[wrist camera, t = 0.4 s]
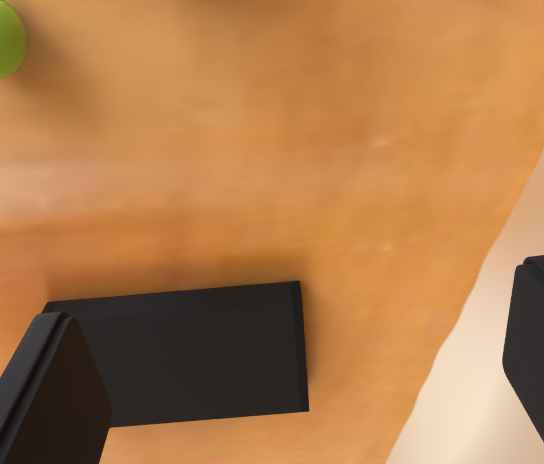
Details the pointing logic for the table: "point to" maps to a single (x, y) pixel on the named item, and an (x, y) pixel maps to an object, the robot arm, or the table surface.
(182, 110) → the table surface
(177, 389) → the external hard drive
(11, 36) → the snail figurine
